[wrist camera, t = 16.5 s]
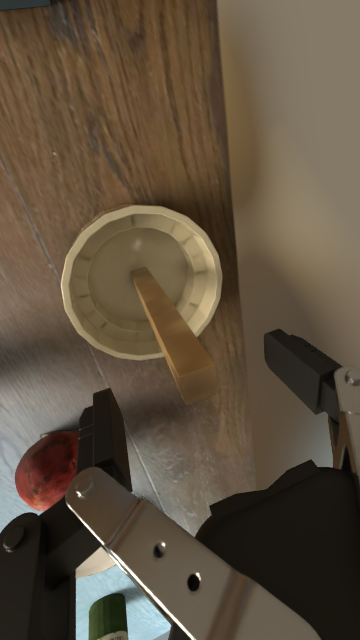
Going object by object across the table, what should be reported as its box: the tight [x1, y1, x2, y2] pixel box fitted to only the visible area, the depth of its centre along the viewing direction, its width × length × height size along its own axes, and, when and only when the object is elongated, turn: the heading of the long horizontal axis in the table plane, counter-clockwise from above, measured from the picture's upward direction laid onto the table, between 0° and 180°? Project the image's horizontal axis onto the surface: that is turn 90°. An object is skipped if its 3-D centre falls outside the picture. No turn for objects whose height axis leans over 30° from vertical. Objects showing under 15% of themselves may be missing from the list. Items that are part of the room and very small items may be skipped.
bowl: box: [61, 203, 223, 360], centre depth 25 cm, size 14×14×6 cm
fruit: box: [15, 431, 79, 511], centre depth 30 cm, size 9×10×10 cm
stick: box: [130, 267, 220, 405], centre depth 20 cm, size 2×2×18 cm
